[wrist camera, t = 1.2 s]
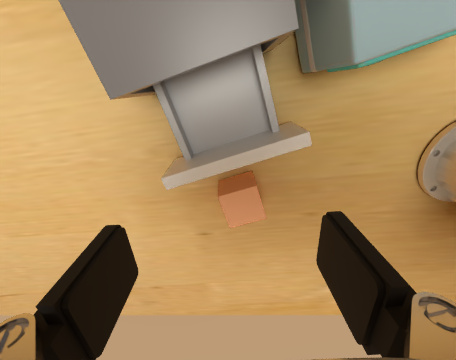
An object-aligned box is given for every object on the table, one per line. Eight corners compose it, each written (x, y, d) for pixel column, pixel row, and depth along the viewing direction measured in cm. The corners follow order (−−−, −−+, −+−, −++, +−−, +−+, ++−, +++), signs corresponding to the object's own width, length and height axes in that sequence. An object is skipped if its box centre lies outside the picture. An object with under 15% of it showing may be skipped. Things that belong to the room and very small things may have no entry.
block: (260, 199, 32) (266, 218, 27) (229, 208, 33) (230, 228, 28) (252, 170, 30) (256, 185, 25) (218, 180, 31) (217, 197, 26)
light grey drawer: (293, 132, 26) (311, 145, 21) (179, 168, 28) (166, 190, 23) (258, -40, 20) (271, -92, 14) (113, 23, 22) (71, 0, 16)
